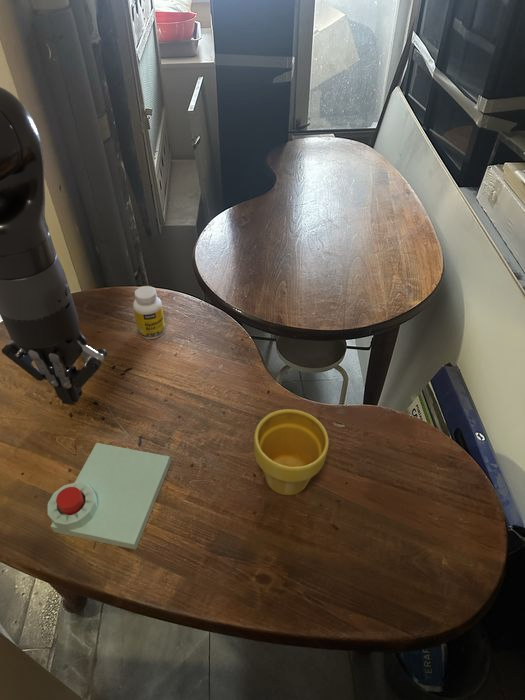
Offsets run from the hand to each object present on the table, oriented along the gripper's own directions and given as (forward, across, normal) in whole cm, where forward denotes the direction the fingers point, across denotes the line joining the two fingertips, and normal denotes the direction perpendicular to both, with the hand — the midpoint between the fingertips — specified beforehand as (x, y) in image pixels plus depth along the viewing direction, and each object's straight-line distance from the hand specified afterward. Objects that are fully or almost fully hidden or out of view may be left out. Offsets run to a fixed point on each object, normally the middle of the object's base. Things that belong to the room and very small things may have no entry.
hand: (72, 399), depth 64 cm
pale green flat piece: (+15, +5, -5) cm, 16 cm away
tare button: (+12, +1, -9) cm, 14 cm away
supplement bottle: (+15, -2, +31) cm, 34 cm away
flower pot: (+15, +29, +3) cm, 33 cm away
